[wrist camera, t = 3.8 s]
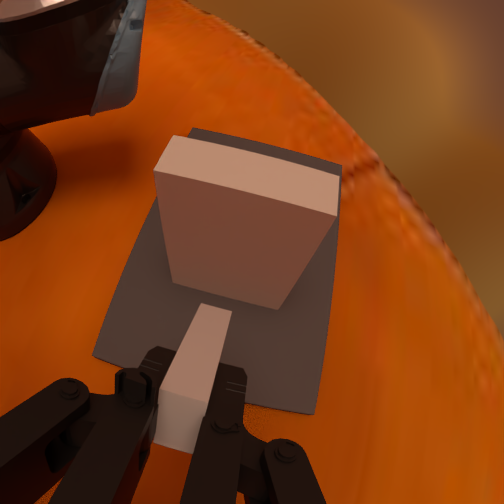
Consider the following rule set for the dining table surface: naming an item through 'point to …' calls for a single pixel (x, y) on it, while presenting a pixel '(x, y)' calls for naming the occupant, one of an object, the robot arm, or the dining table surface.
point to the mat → (229, 308)
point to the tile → (240, 219)
